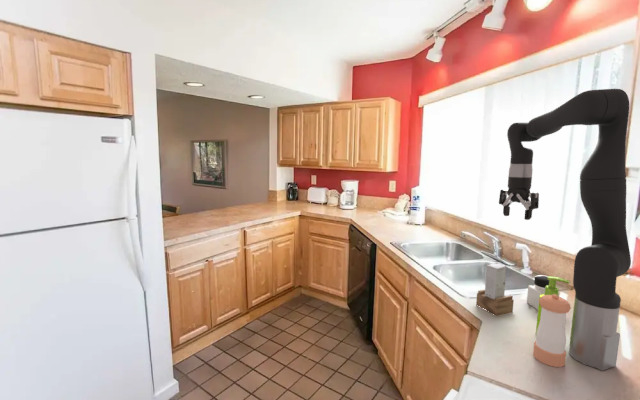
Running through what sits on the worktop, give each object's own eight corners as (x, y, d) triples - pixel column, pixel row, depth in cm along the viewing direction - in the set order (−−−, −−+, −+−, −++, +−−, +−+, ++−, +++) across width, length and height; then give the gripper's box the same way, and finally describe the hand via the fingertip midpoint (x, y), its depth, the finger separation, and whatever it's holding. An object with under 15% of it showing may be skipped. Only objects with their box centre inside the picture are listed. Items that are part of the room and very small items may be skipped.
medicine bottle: (558, 311, 113) (561, 280, 112) (538, 311, 113) (541, 280, 112) (544, 302, 120) (547, 273, 119) (526, 302, 120) (528, 273, 119)
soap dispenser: (563, 345, 92) (570, 283, 89) (535, 337, 96) (541, 277, 93) (562, 337, 97) (569, 277, 94) (536, 329, 101) (541, 272, 98)
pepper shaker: (534, 347, 91) (540, 287, 89) (565, 357, 87) (572, 294, 84) (531, 359, 86) (538, 295, 83) (564, 370, 81) (572, 303, 78)
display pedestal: (512, 312, 112) (513, 296, 111) (496, 316, 109) (497, 300, 109) (491, 302, 120) (492, 287, 120) (476, 305, 118) (477, 290, 117)
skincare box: (495, 300, 111) (497, 268, 109) (483, 295, 115) (485, 265, 113) (504, 296, 114) (507, 265, 112) (493, 292, 118) (495, 262, 116)
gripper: (546, 176, 110) (541, 220, 112) (509, 175, 123) (506, 214, 125) (531, 177, 107) (527, 221, 110) (496, 175, 121) (493, 215, 123)
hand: (516, 217), depth 117 cm, fingers open, 8 cm apart
